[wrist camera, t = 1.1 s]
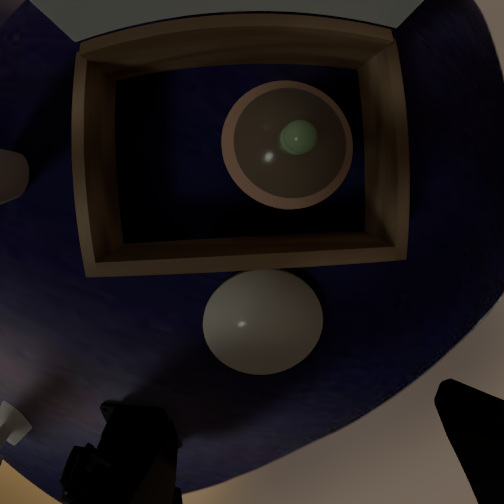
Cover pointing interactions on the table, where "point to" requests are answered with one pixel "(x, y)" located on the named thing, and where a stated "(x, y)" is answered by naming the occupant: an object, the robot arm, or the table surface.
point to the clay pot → (287, 144)
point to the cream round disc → (262, 321)
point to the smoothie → (12, 175)
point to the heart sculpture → (12, 425)
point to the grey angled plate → (206, 11)
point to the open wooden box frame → (227, 53)
